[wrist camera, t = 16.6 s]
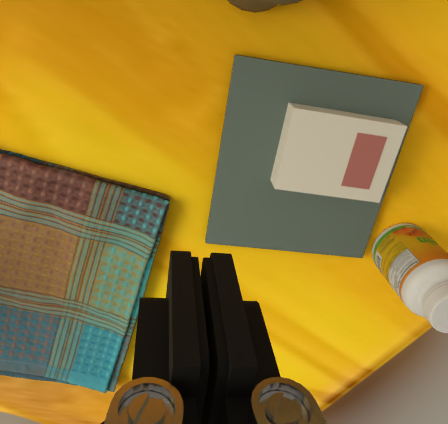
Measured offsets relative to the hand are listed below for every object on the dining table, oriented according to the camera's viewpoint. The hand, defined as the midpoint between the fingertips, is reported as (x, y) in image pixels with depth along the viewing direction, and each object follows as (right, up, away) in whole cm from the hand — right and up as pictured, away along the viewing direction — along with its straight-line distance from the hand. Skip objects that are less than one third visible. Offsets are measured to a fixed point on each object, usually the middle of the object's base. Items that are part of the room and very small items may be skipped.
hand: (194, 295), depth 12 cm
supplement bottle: (+18, -1, +28) cm, 33 cm away
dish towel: (-15, -4, +27) cm, 32 cm away
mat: (+8, +6, +24) cm, 26 cm away
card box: (+5, +8, +21) cm, 23 cm away
